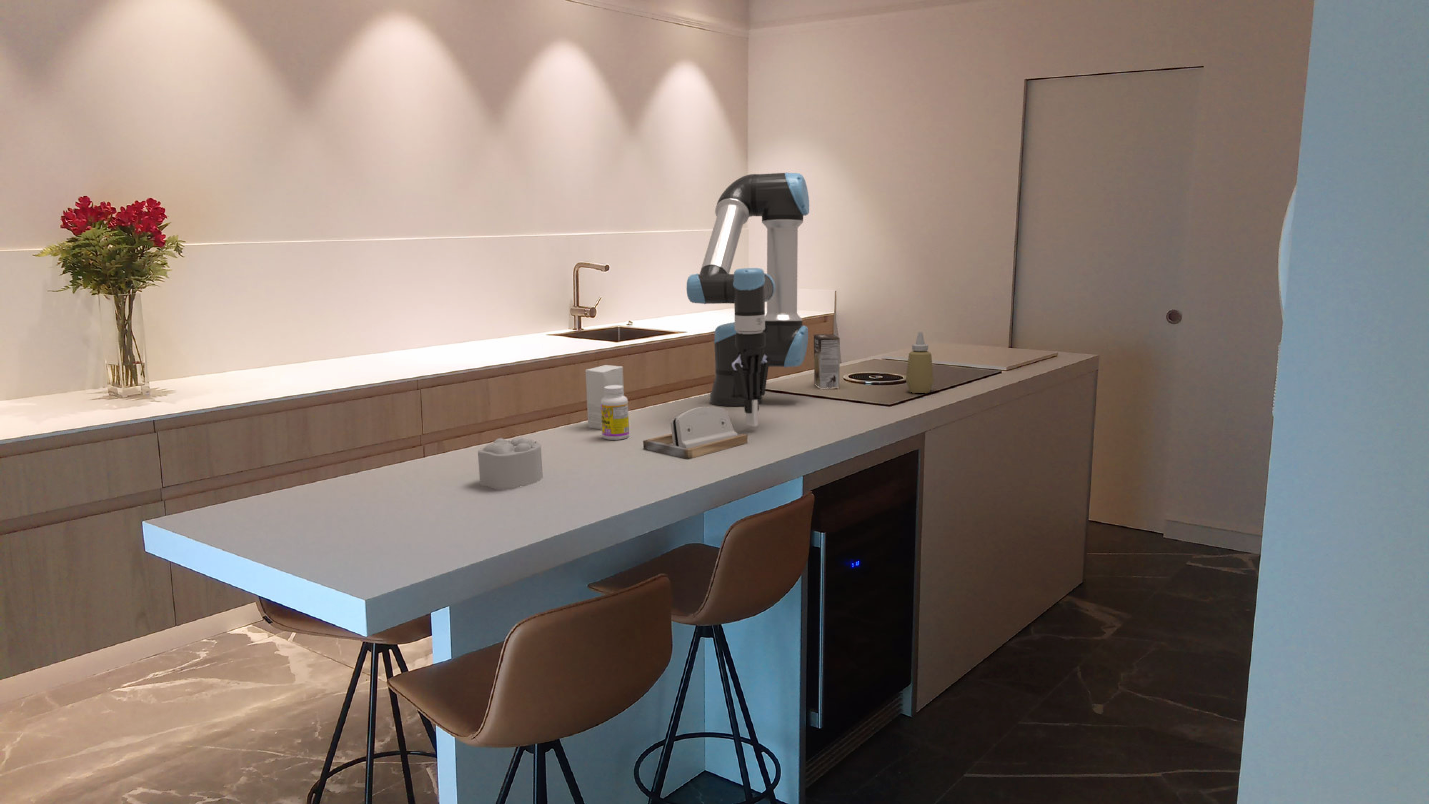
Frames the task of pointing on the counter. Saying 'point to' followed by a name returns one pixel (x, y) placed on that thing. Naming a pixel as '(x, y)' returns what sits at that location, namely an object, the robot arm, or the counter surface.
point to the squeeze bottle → (919, 367)
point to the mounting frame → (663, 446)
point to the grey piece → (701, 427)
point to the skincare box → (600, 390)
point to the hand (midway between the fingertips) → (752, 425)
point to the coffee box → (826, 360)
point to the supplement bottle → (614, 413)
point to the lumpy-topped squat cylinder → (510, 463)
